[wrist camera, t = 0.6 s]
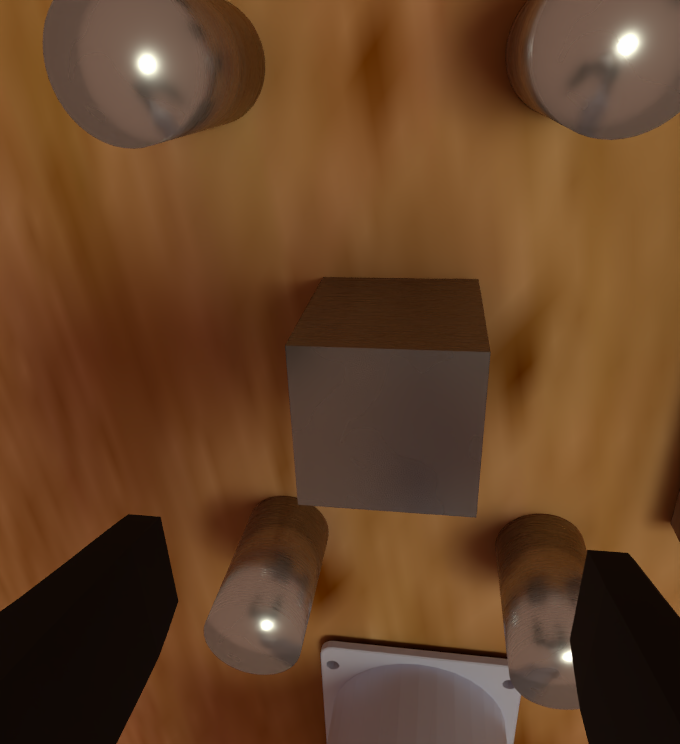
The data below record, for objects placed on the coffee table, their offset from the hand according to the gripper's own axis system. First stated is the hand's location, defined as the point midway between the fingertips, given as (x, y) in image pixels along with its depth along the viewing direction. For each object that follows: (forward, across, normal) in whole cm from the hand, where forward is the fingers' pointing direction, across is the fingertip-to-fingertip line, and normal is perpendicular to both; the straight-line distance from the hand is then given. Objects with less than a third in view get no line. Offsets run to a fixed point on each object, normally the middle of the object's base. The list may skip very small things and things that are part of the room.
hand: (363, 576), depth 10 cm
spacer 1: (+9, +5, -8) cm, 13 cm away
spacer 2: (+9, +4, +8) cm, 13 cm away
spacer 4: (+9, -4, -8) cm, 13 cm away
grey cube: (+10, 0, 0) cm, 10 cm away
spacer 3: (+9, -5, +8) cm, 13 cm away
